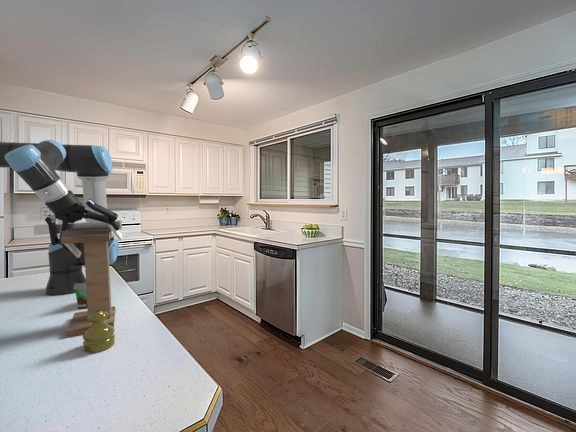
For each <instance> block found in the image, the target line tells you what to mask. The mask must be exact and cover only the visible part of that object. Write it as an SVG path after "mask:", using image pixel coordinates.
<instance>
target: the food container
mask: <svg viewBox="0 0 576 432" xmlns="http://www.w3.org/2000/svg"><path fill="white" fill-rule="evenodd" d="M73 289H75V292H74V293H75V296H76V302H77V303H76V304H77V309H78V310H85V309H87V291H86V282H84V283H74V288H73Z"/></svg>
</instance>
